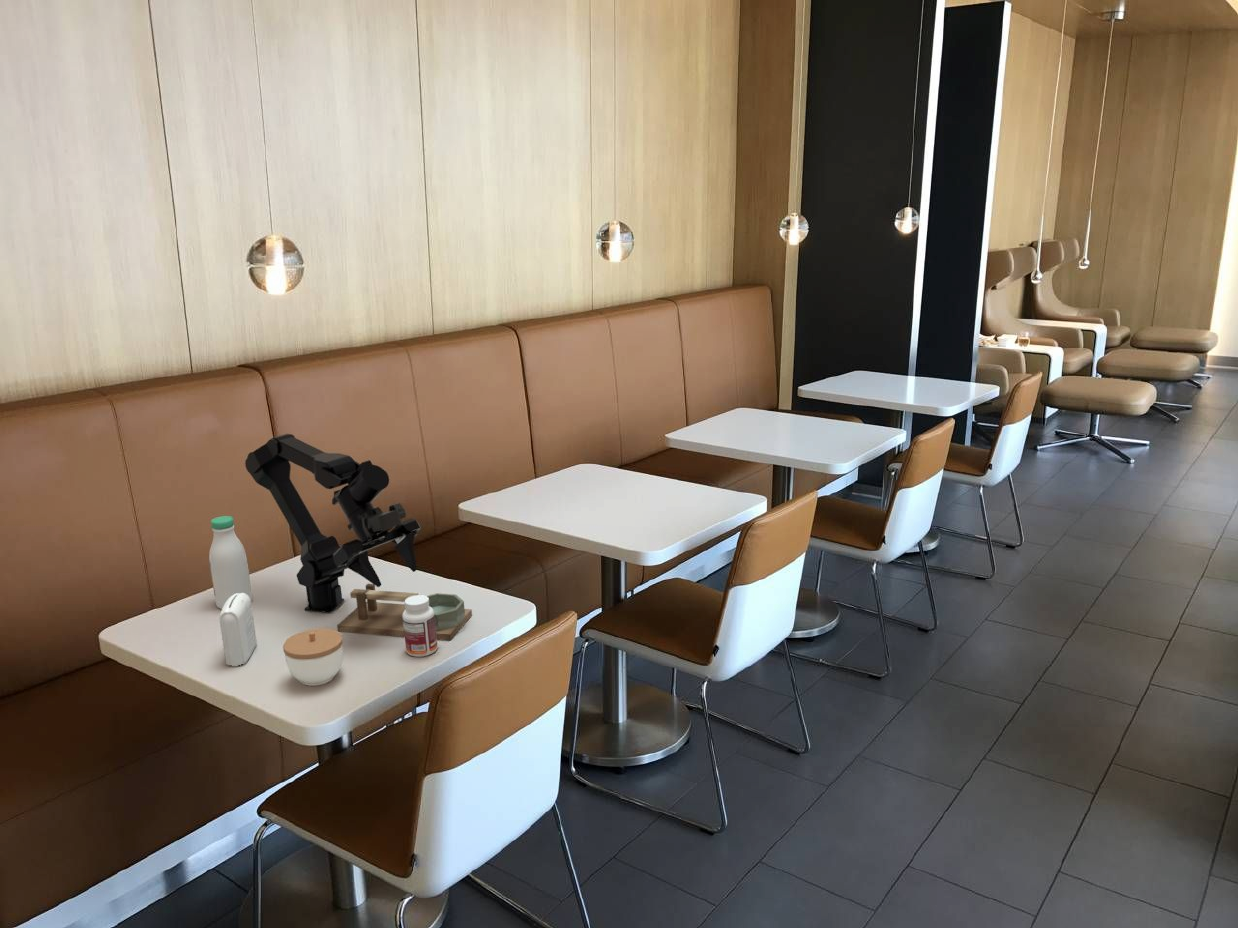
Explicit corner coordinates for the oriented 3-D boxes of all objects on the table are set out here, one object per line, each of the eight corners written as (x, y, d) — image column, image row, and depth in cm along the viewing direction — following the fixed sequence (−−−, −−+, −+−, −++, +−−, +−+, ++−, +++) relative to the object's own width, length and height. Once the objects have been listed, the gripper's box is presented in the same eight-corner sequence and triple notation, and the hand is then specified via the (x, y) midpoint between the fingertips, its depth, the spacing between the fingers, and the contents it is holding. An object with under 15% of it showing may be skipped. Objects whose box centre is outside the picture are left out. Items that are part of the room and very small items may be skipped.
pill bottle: (428, 640, 208) (423, 590, 205) (443, 650, 204) (439, 599, 201) (400, 650, 205) (395, 599, 201) (415, 661, 200) (410, 609, 197)
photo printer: (238, 644, 210) (229, 588, 206) (259, 642, 210) (251, 586, 206) (223, 668, 200) (214, 609, 196) (246, 666, 200) (237, 608, 196)
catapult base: (337, 631, 214) (333, 599, 212) (364, 607, 225) (361, 576, 223) (450, 640, 208) (447, 607, 206) (472, 615, 219) (469, 584, 217)
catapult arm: (343, 623, 214) (340, 600, 212) (366, 603, 223) (363, 580, 222) (452, 632, 208) (450, 608, 207) (470, 610, 218) (468, 588, 216)
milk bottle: (260, 600, 230) (248, 516, 224) (231, 613, 224) (218, 527, 218) (237, 593, 234) (225, 510, 228) (208, 606, 228) (195, 521, 222)
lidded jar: (294, 666, 199) (288, 622, 197) (351, 662, 200) (345, 618, 197) (282, 694, 189) (275, 648, 186) (341, 690, 190) (335, 644, 187)
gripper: (339, 507, 197) (379, 577, 195) (414, 481, 211) (451, 547, 209) (316, 532, 204) (353, 600, 202) (389, 506, 218) (425, 569, 216)
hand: (397, 578), depth 207 cm, fingers open, 9 cm apart
